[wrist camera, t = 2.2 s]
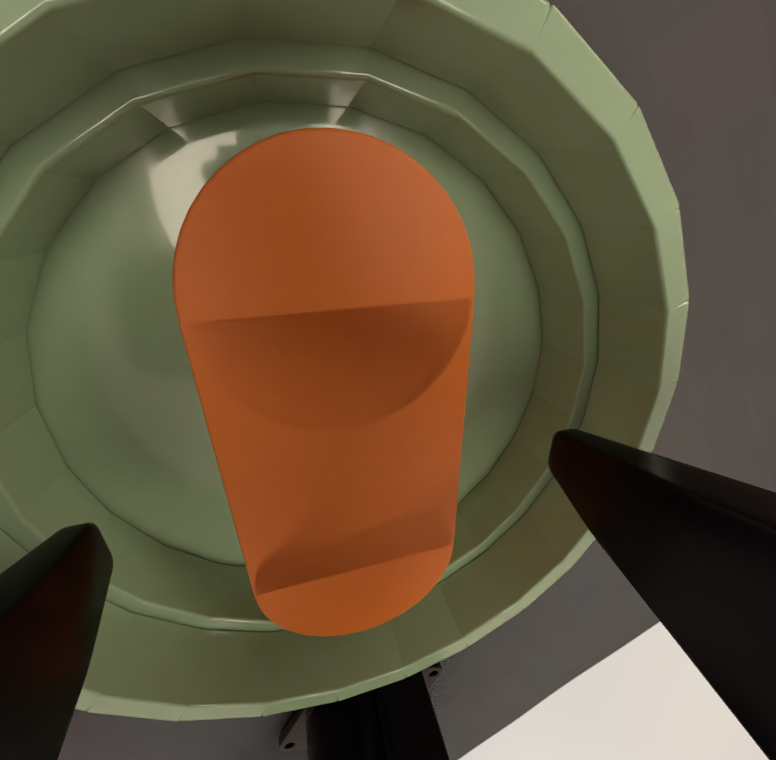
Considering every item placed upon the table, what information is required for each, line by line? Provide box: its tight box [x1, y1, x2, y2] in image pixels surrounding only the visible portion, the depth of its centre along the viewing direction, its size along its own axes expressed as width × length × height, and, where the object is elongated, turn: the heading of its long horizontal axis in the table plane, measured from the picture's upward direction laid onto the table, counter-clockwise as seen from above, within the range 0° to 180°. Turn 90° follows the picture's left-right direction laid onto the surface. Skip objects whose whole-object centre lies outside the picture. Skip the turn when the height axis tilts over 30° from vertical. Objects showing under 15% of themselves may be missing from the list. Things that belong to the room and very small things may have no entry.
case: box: [172, 127, 475, 636], centre depth 9 cm, size 12×5×3 cm, turn 1°
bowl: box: [0, 0, 689, 721], centre depth 9 cm, size 16×16×4 cm
